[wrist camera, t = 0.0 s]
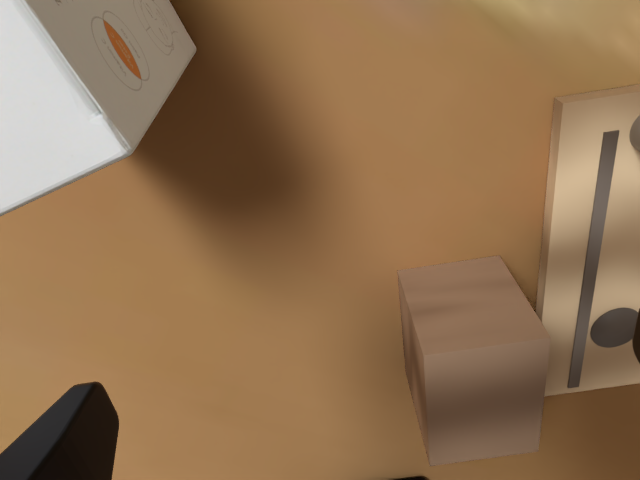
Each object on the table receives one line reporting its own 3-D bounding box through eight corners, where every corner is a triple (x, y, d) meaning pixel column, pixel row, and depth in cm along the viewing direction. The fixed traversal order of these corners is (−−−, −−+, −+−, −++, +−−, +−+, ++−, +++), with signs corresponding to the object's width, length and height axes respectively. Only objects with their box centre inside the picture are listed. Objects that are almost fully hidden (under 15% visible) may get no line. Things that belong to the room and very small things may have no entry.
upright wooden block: (494, 358, 29) (538, 451, 24) (405, 371, 30) (429, 466, 25) (498, 254, 26) (550, 337, 21) (397, 269, 26) (423, 355, 21)
